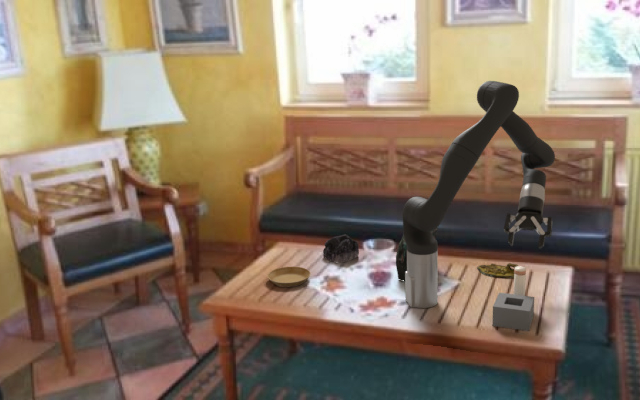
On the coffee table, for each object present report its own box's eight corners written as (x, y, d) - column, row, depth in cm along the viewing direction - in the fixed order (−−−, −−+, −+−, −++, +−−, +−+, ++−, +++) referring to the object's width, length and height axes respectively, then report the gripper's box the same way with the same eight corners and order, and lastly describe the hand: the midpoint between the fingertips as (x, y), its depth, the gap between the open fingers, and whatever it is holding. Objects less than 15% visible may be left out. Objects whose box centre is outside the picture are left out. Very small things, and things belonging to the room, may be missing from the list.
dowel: (516, 308, 199) (517, 270, 195) (511, 303, 202) (512, 266, 198) (526, 306, 199) (527, 269, 196) (521, 302, 202) (522, 265, 199)
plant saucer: (280, 271, 237) (280, 264, 237) (317, 276, 231) (317, 269, 230) (260, 286, 224) (259, 279, 224) (298, 292, 218) (298, 285, 218)
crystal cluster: (325, 252, 255) (321, 228, 251) (360, 248, 253) (357, 225, 250) (323, 268, 242) (319, 243, 239) (359, 264, 241) (356, 239, 237)
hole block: (529, 331, 184) (529, 311, 183) (492, 325, 188) (492, 306, 187) (533, 315, 193) (534, 296, 191) (498, 311, 197) (499, 292, 196)
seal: (472, 277, 226) (516, 284, 218) (472, 265, 224) (516, 271, 217) (481, 265, 233) (524, 271, 226) (480, 253, 232) (524, 258, 224)
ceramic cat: (427, 262, 238) (426, 209, 232) (442, 266, 233) (442, 212, 228) (392, 279, 224) (391, 223, 219) (408, 284, 220) (407, 227, 214)
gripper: (507, 193, 212) (500, 238, 205) (554, 196, 206) (549, 243, 199) (509, 204, 218) (503, 249, 211) (555, 208, 212) (550, 253, 206)
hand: (525, 246), depth 205 cm, fingers open, 8 cm apart
